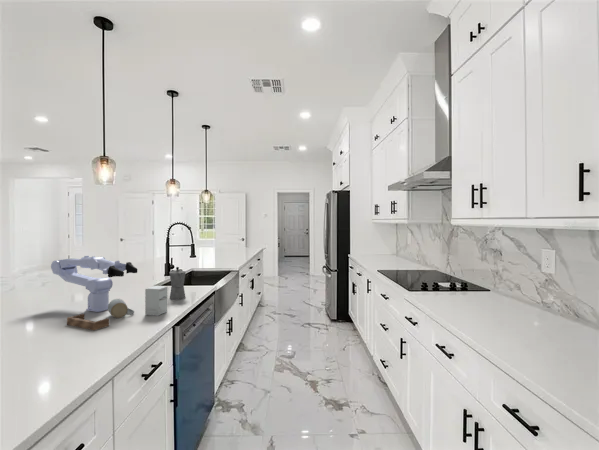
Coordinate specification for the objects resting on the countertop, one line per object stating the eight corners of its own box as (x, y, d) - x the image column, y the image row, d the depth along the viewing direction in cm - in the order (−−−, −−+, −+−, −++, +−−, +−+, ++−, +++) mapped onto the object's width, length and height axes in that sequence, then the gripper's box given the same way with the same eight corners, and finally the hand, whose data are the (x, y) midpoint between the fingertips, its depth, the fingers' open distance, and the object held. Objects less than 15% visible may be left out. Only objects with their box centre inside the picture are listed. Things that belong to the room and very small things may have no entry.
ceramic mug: (110, 320, 148) (110, 303, 148) (107, 315, 155) (107, 299, 155) (136, 316, 155) (136, 299, 155) (132, 312, 161) (132, 296, 161)
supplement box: (158, 316, 155) (158, 289, 154) (144, 315, 156) (144, 288, 156) (167, 311, 162) (167, 286, 162) (154, 310, 163) (154, 285, 163)
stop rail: (67, 324, 141) (66, 317, 141) (82, 320, 147) (82, 313, 147) (94, 330, 134) (94, 323, 134) (109, 325, 140) (109, 318, 140)
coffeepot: (190, 298, 190) (190, 267, 189) (174, 301, 183) (174, 269, 183) (178, 294, 201) (178, 264, 201) (163, 296, 194) (163, 266, 194)
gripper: (96, 261, 155) (117, 267, 151) (123, 256, 169) (142, 261, 164) (95, 275, 156) (116, 282, 151) (122, 269, 170) (142, 275, 165)
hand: (130, 272), depth 158 cm, fingers open, 7 cm apart
